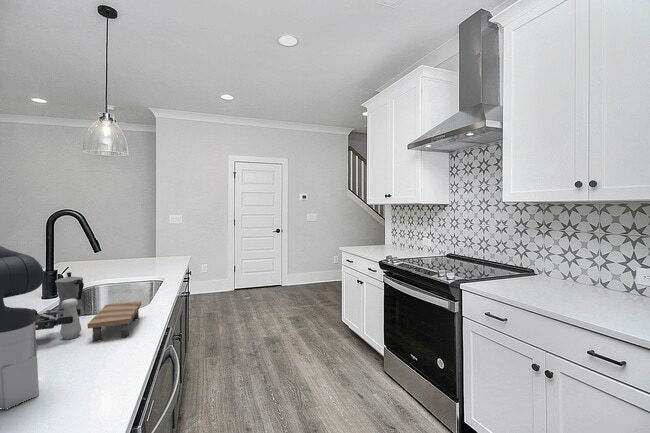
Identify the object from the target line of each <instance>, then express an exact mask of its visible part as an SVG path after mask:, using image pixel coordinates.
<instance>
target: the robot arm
mask: <svg viewBox="0 0 650 433" xmlns="http://www.w3.org/2000/svg"><path fill="white" fill-rule="evenodd" d="M44 280H45V272H44V270H43V267H42V265H41V263H40V262H39V261H38V260H37V259H36V258H35V257H33V256H31V255H30V254H29V255H28V254H26V253H21V252H18V251H14V250H12V249H8V248H6V247H4V246H2V245H0V408H4V409H7V408H10V407H12V406H14V407H16V406H18V405H17V404H19V403H21V402H23V403H25V402H27V401H29V400H28V399H30V400H32V399H33V398H36V397H38V396H40V389H39V370H38V355H37V353H38V352H37V335H36V332H37V331H40V330H41V331H42V330H51V329H52V330H53V329H54V328H55V327H58V326H61V325H62V324H70V323H72V322H73V316H69V317H63V314H60V313H62V312H63V313H64V308H62V309H58V308H57V309H55V308H54V309H47V310H45V311H44V312H42V313H38V311H37V309H34V308H32V309H31V308H28V307H11V306H6V304H5V302H4V299H5V298H11V297H15V296H21V295H25V294H28V293H32V292H34V291H36V290H37V289H39V288H40V287H41V285H42V284H43V283H44ZM76 310H77V314H78V315H80V314H81V309H76ZM31 398H32V399H31ZM26 400H27V401H26ZM24 401H25V402H24ZM21 404H22V403H21ZM15 405H16V406H15ZM19 405H20V404H19ZM12 408H13V407H12ZM4 409H3V410H4ZM10 409H11V408H10ZM7 410H8V409H7Z"/></svg>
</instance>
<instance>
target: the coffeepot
mask: <svg viewBox="0 0 650 433" xmlns="http://www.w3.org/2000/svg"><path fill="white" fill-rule="evenodd" d="M84 285H85V283H84V278H83V277H82V276H72V272H69V271H68V272H66V277H62V278H58V279H57V280H55V286H56V291H57V295H58V298H59V302H58V308H57V309H62V308H63V307H62V302H63V301H64V300H67V299H77V302H78V304H77V305H76V309H81V314H80V315H78V318H79V317H82V316H84V315H85V310H84V307H83V303H82V302H83V301H82V296H83V290H84ZM60 314H63V312H62V313H60Z"/></svg>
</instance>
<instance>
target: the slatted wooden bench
mask: <svg viewBox="0 0 650 433" xmlns="http://www.w3.org/2000/svg"><path fill="white" fill-rule="evenodd" d="M141 306H142V300H138V301H137V300H136V301H128V302H117V303H109V304H108V303H107V304H105V305H104V306H103V307H102V308H101V310H100V311H99V312H97V314H96V315H94V317H93V318H92V319H91V320H90V321H89V322H88V323H87V329H92V342H94V343H95V342H101V341H102V340H103V338H102V336H103V334H102V331H103V330H102V328H103V327H110V326H119V325H120V338H121V339H126V338H128V337H130V329H129V328H130V327H129V326H130V325H129V324H131V322H132V321H137V319H138V320H139V318H140V315H139V312H140V311H139V310H140V309H141Z"/></svg>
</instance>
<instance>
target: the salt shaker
mask: <svg viewBox="0 0 650 433" xmlns="http://www.w3.org/2000/svg"><path fill="white" fill-rule="evenodd" d="M77 304H78V302H77V299H67V300H64V301H63V302H62V307H63V308H64V313H63V317H69V316H73V322H72V323H70V324H62V325H60V330H59V334H60V336H61V338H62V339H63V340H71V339H76V338H77V337H79V336H80V334H81V331H82V326H81V323H80V318H79V317H78V314H77V310H76V305H77Z"/></svg>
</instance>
